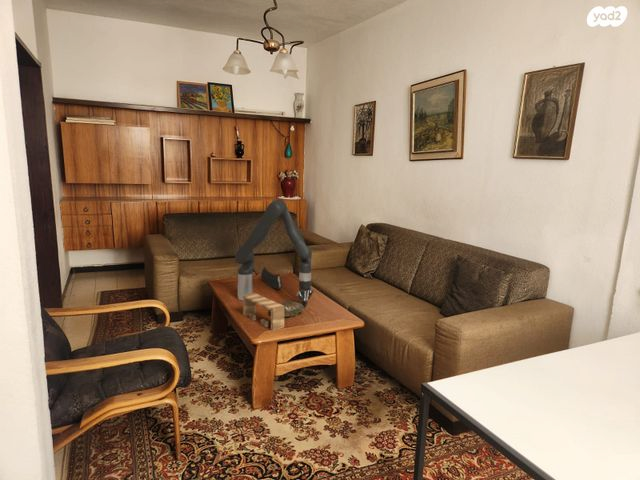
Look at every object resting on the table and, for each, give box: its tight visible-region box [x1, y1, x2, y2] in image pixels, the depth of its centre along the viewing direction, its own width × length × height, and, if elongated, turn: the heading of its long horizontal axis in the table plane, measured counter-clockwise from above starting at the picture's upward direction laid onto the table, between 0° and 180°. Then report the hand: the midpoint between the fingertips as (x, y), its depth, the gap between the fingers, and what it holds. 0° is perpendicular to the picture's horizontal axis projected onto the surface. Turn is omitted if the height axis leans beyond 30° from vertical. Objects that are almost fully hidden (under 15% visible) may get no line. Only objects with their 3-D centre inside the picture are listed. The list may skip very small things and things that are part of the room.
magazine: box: [260, 266, 283, 291], centre depth 295 cm, size 17×3×30 cm
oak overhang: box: [242, 292, 285, 332], centre depth 229 cm, size 29×8×12 cm, turn 43°
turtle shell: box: [269, 300, 305, 318], centre depth 241 cm, size 16×9×20 cm
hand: (304, 306), depth 251 cm, fingers closed
